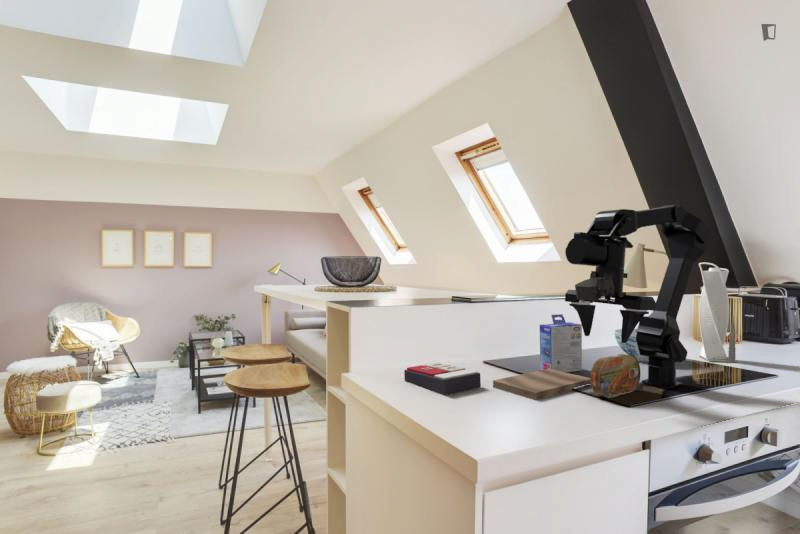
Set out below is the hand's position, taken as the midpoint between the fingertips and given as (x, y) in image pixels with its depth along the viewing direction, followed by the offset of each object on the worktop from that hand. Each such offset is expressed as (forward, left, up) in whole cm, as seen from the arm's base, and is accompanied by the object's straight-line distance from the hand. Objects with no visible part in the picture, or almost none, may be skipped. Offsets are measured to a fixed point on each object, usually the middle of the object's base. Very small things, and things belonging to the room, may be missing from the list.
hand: (604, 339), depth 106 cm
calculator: (+24, -26, -13) cm, 38 cm away
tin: (-2, +2, -12) cm, 12 cm away
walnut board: (+6, -11, -12) cm, 18 cm away
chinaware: (-41, -13, -12) cm, 45 cm away
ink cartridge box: (-10, -18, -12) cm, 24 cm away
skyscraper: (-58, -1, -12) cm, 59 cm away
